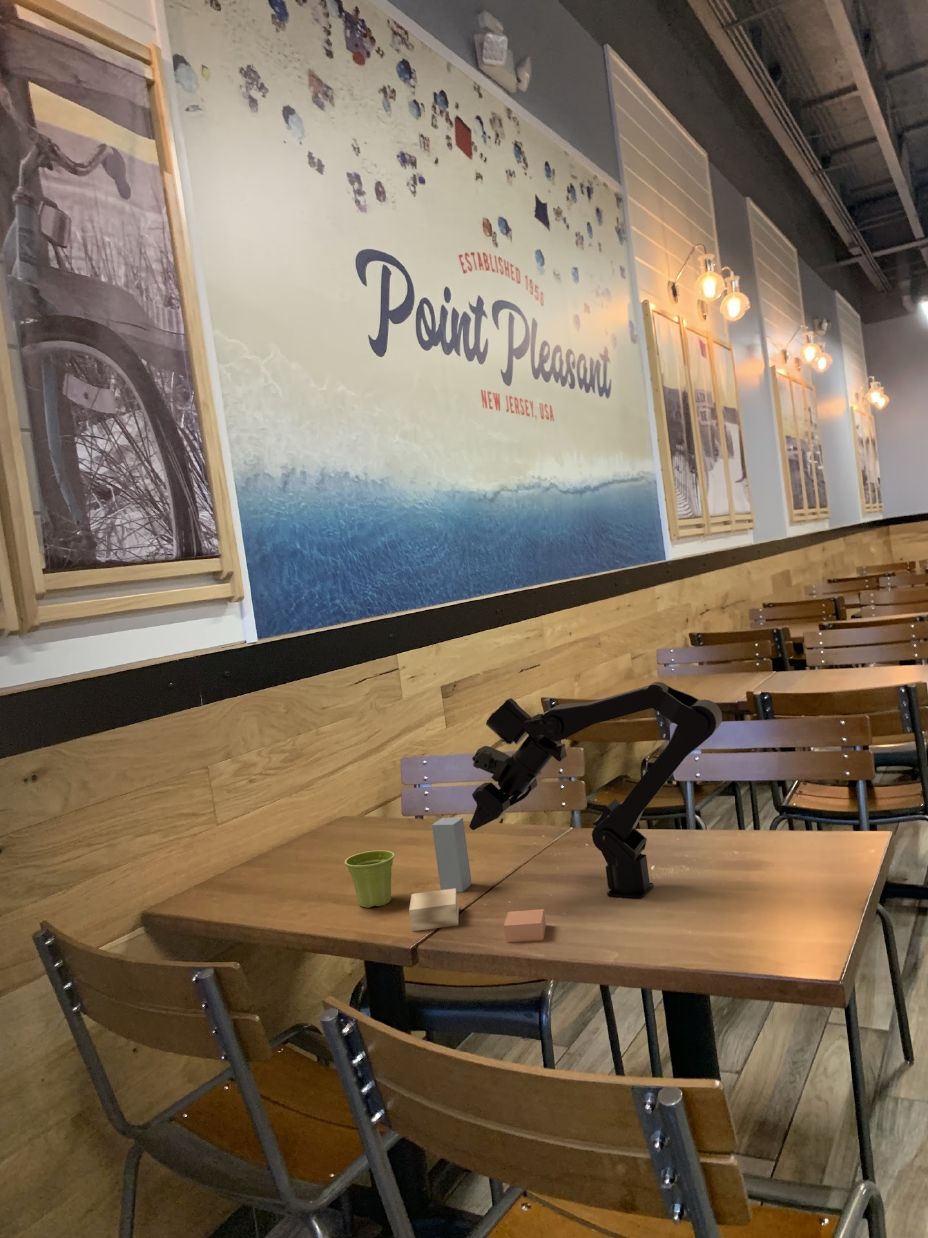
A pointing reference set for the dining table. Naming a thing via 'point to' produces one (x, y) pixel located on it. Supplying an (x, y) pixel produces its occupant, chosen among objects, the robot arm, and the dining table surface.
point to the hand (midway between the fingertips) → (481, 821)
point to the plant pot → (371, 876)
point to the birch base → (434, 909)
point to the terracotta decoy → (525, 925)
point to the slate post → (452, 854)
